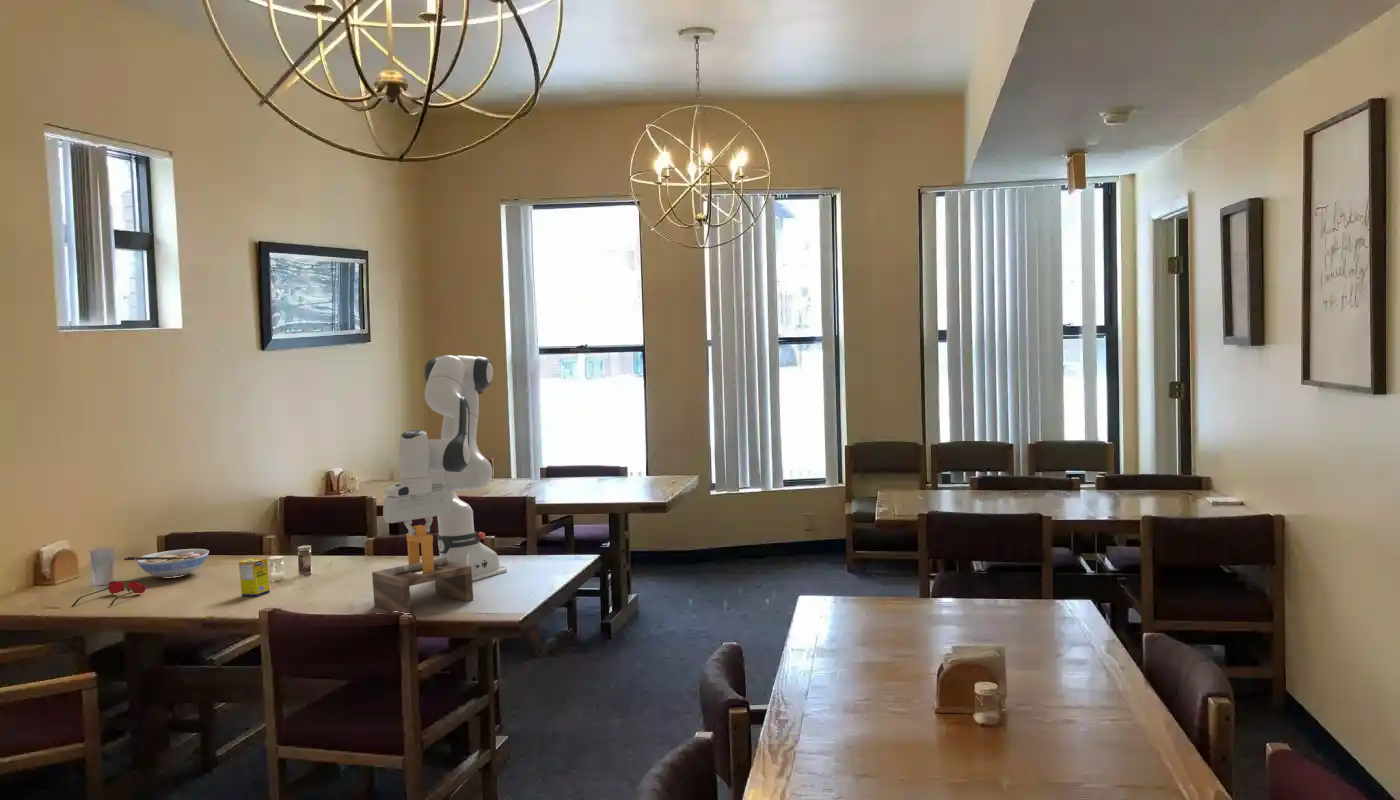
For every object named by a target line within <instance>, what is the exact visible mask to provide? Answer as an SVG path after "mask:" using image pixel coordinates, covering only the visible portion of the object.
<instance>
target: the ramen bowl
mask: <svg viewBox="0 0 1400 800" xmlns="http://www.w3.org/2000/svg"><path fill="white" fill-rule="evenodd" d="M209 553H210V550H208V549H206V548H205V549H204V548H185V549H183V548H182V549H175V550H174V549H172V550H166V551H159V552H154V553H153V552H152V553H150V554H146V555H142V556H140V557H139V556H128V557H125V558H123V560H124V561H135V562H136V564H137V565H138V566H139V567H140V569H142V570H143V572H145V573H146V574H148V575H151V576H154V577H159V578H162V577H173V576H181V575H185V574H187V575H189V574H190V573H193V572H194V571H196V570H198V569H199V568H200V567H201V566H202V565H203V564H204V563H205V561H206V559H207V558H208V555H209Z"/></svg>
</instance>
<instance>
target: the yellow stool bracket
mask: <svg viewBox="0 0 1400 800" xmlns="http://www.w3.org/2000/svg"><path fill="white" fill-rule="evenodd" d="M411 526H412V525H411ZM412 528H413V529H416V535H413V536H410V535H409V532H408V533H405V536H406V541H407V542H406V543H407V545H406V546H407V556H408V557H407V558H408V559H407V560H408V565H410V564H415V563H420V562H422V569H423V571H422V574H424V573H429V572H433V571H434V560H435V559H434V548H433V543H434V536H433V534H429V533H426V526H425V524H424V525H423V524H419V525H413V526H412ZM420 547H421V549H420ZM420 551H421V555H420ZM420 558H421V559H420ZM420 560H421V561H420Z"/></svg>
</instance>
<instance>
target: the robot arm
mask: <svg viewBox="0 0 1400 800" xmlns="http://www.w3.org/2000/svg"><path fill="white" fill-rule="evenodd" d="M493 369H494V368H493V365H492V362H491V360H489V358H487V357H485V356H479V355H478V356H472V355H460V354H459V355H450V354H449V355H448V354H446V355H442V356H434V357H431V358H429V359H428V360H427V362H426V363H425V366H424V373H423V374H424V380H425V382H426V385H425V388H424V401H425V402H426V404H427V405H428V407H429V408H430V409H431V410H432V411H433V412H435V413H437V414H439V415H442V416H443V417H442V418H443V419H442V426H441V431H440V437H441V438H439V439H437V438H436V439H435V438H433V439H432V438H430V439H429V437H428V433H427V431H425V430H422V429H412V430H407V431H405V432H403V433H401V434H400V437H399V439H398V440H399V441H398V464H399V467H400V476H399V481H398V482H396V483H394V484H392V485H389V486H388V487H386V488H385V489H384V495H385V496H386V497H385V498H384V500H383V503H382V504H383V506H382V515H383V517H382V518H383V520H384V522H385V523H387V524H388V523H389V524H394V523H395V524H396V523H401V522H403V524H404V525H405V528H407V531H408V533H409V535H410V536H413V535H416V529H413V528H412V524H413V521H414V520H420V519H424V521H425V524H424V526H426V534H429V533H430V531H431V528H430V527H431V525H432V523H433V521H434V517H437V525H438V534H437V545H438V548H437V549H438V553H439V557H438V559H440V558H445V557H446V558H447V560H448V561H451V562H456V563H460V564H464V565H469V566H471V571H472V582H473V581H478V580H482V579H485V578H488V577H492V576H495V575H499V574H502V573H506V572H508V570H507V567H506V566H504V565H501V564H500V561H499V560H500V559H499V556H498V554H497V552H496V551H494V550H493V549H491V548H490V547H488V546H487V545H484V543H482V542H480V541H481V540H484V539H486V533H485V532H482V531H479V532H477V531H475V526H474V510H473V509H472V507H471V506H470V504H469V503H467V502H465V501H464V500H462V499H460V498H459V496H458V495H457V492H456V491H475V490H478V489H482V488H487V487H488V485H489V484H490V483H491V481H492V479H493V467H492V464H491V463H490V460H488V459H487V458H486V457H485V456H484V455H483V454H482V452H481V451H480V449H479V447H478V444H477V432H478V431H477V429H478V423H479V414H480V413H479V411H480V405H479V404H480V403H479V400H480V399H479V395H482V394H483V393H484V391H485V390H487V389H488V388H489V386H490V384H491V383H492V382H493V377H494V370H493ZM480 539H481V540H480Z"/></svg>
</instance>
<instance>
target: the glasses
mask: <svg viewBox="0 0 1400 800" xmlns="http://www.w3.org/2000/svg"><path fill="white" fill-rule="evenodd" d="M125 583H129V584H127V585H126V586H127V587H128V588H126V590H127V591H128V593H124V594H121V595H118V596H117V597H115V598H114V599H113V600H112V601H111V603H110V604H109V606H111V605H112V606H113V605H114V603H115V601H116V600H117V599H119V598H122V597H124V596H128V595H130V594H133V593H134V594H135V593H142V594H143V593H144V592H145V591H146V590H147V586H145V585H144V583H143V582H142V581H139V580H138V581H137V580H129V581H128V580H125V581H124V580H113V581H110V582H108V586H107V588H103V589H101V590H98V591H95V592H91V593H88V594H85V595H83V596H82V595H81V596H79V598H77V599H76V600H75V602H74V603H73V604H72V605H71V606H70V607H71V608H74V607H75V605H76V604H77V603H78V602H79V601H80V600H81V599H82V598H85V597H87V596H91V595H94V594H98V593H100V592H103V591H107V590H108V592H109V593H110V594H111V593H116V594H118V593H121V592H123V591H124V590H125ZM73 606H74V607H73ZM112 606H111V607H112Z"/></svg>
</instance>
